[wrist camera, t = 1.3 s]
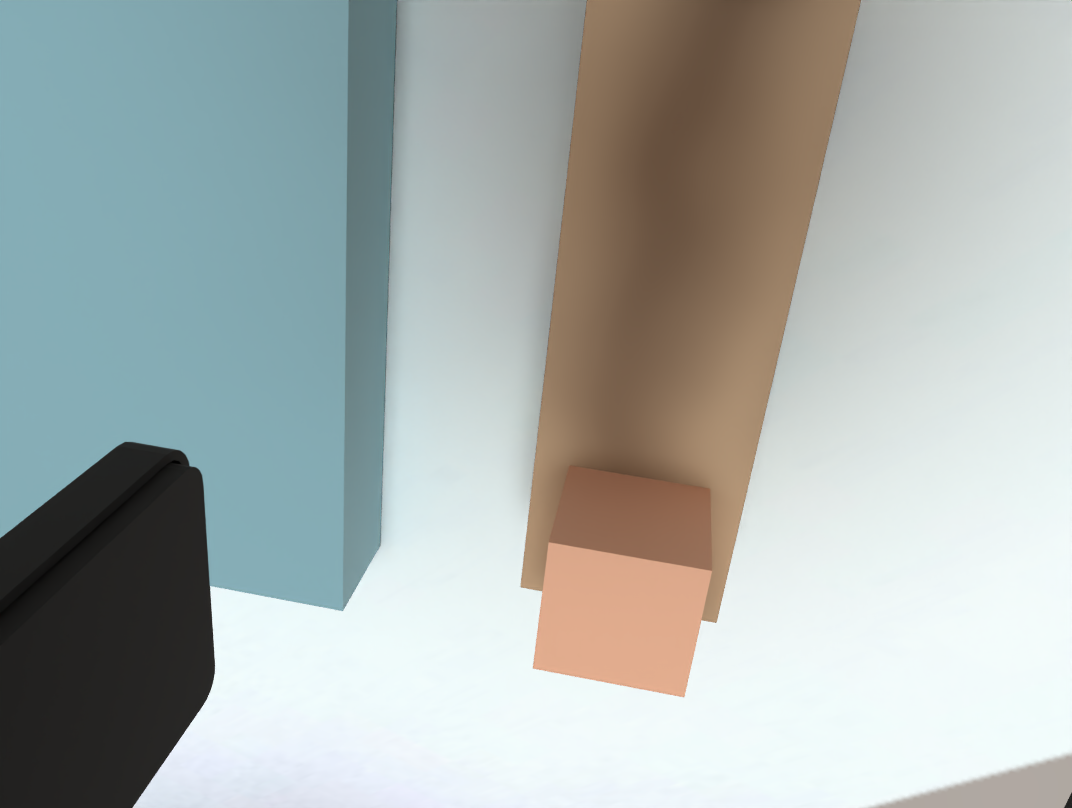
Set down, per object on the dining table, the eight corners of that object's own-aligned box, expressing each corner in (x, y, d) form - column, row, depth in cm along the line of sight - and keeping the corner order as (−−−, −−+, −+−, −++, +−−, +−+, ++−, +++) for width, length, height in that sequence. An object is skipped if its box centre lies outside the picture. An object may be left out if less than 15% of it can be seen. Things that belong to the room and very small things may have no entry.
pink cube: (710, 488, 25) (712, 571, 22) (686, 603, 27) (684, 697, 24) (569, 465, 26) (548, 542, 22) (554, 579, 28) (532, 668, 24)
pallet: (878, -217, 22) (923, -269, 18) (713, 532, 32) (716, 622, 27) (635, -238, 23) (619, -293, 18) (544, 504, 32) (520, 587, 28)
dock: (409, -407, 22) (353, -482, 19) (379, 545, 34) (342, 610, 31) (-112, -442, 24) (-256, -518, 20) (36, 483, 36) (-38, 539, 32)
